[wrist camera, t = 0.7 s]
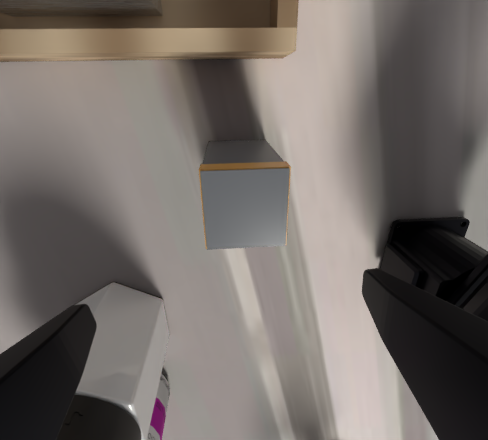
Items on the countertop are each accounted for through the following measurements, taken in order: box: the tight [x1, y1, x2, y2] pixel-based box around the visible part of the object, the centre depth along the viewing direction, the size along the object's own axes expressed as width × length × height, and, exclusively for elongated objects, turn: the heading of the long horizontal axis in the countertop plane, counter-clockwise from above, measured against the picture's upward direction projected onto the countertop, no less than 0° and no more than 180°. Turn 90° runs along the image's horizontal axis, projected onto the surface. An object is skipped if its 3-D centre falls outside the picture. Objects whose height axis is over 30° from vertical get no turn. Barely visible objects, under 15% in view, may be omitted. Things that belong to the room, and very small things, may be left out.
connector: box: [199, 140, 291, 249], centre depth 17 cm, size 4×4×8 cm
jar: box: [56, 282, 170, 440], centre depth 20 cm, size 9×8×12 cm
